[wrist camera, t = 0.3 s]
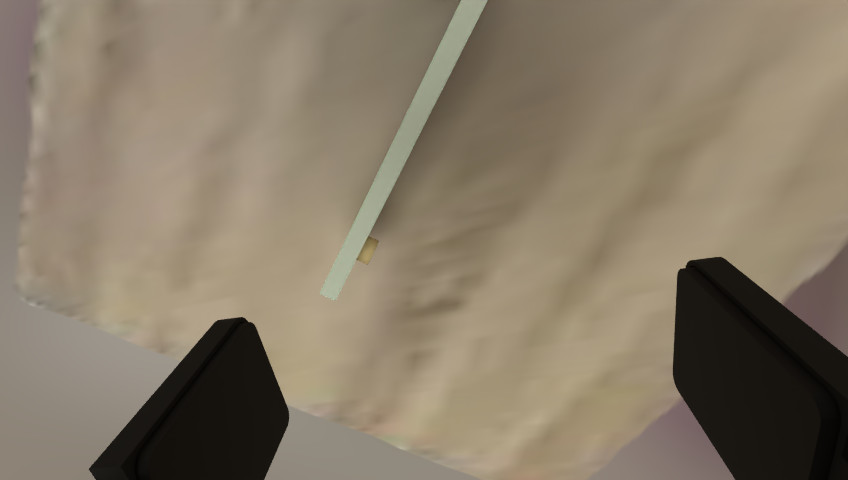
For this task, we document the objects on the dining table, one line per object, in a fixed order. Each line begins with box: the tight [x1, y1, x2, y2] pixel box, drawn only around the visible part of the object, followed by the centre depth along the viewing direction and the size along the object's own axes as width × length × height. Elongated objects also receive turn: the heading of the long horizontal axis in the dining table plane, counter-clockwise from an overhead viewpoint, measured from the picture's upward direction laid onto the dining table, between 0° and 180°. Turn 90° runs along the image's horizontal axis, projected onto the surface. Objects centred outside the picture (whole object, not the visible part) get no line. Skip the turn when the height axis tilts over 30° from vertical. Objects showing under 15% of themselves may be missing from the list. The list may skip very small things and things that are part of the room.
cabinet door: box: [320, 0, 488, 301], centre depth 32 cm, size 2×22×11 cm, turn 153°
